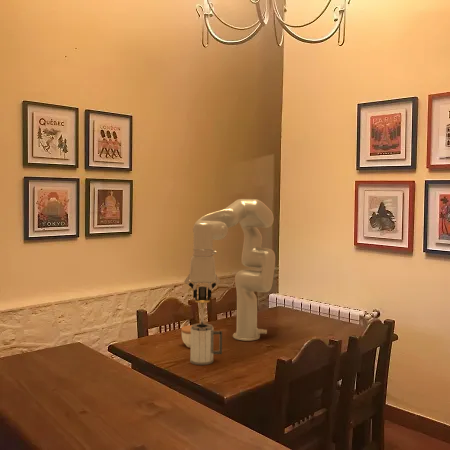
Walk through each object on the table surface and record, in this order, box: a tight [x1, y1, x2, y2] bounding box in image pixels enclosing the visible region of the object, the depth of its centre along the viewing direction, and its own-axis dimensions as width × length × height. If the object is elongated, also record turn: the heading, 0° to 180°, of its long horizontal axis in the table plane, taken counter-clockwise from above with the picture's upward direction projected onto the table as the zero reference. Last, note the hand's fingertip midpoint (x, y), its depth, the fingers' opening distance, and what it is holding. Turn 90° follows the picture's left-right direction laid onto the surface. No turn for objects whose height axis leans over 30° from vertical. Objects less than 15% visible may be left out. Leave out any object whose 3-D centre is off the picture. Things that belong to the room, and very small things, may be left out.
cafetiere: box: [189, 322, 223, 366], centre depth 199 cm, size 13×9×14 cm
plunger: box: [194, 285, 210, 327], centre depth 198 cm, size 6×6×20 cm
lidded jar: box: [180, 324, 193, 349], centre depth 220 cm, size 11×11×9 cm
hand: (202, 299), depth 198 cm, fingers open, 4 cm apart
